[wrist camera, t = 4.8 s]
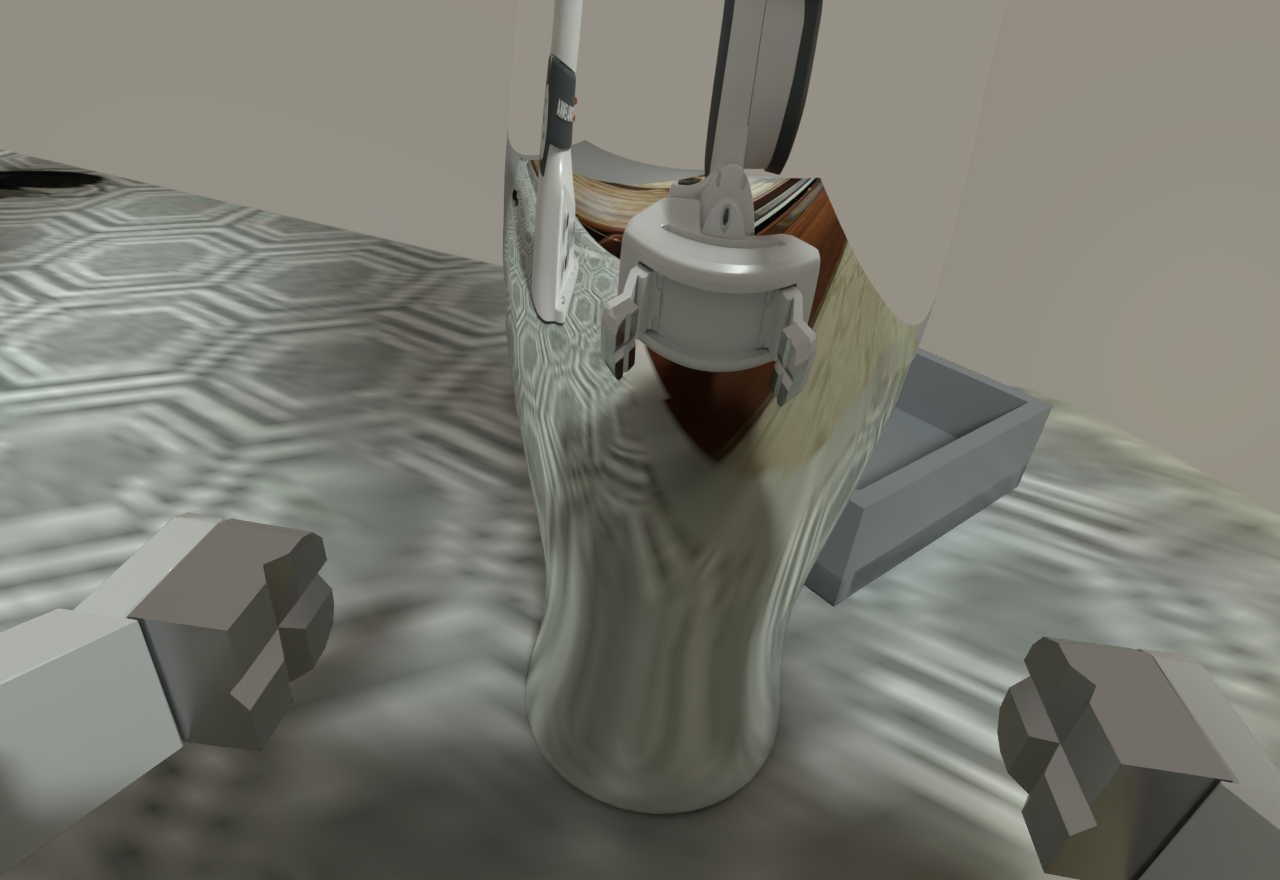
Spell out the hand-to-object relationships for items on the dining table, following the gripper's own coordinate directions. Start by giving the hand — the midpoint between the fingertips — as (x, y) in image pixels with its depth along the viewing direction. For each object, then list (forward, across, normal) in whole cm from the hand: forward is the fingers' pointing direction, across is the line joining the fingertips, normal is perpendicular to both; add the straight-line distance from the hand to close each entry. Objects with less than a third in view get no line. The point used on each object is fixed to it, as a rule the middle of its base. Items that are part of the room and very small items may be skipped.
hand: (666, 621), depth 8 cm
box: (+18, -5, +8) cm, 20 cm away
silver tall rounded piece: (+6, 0, +9) cm, 10 cm away
